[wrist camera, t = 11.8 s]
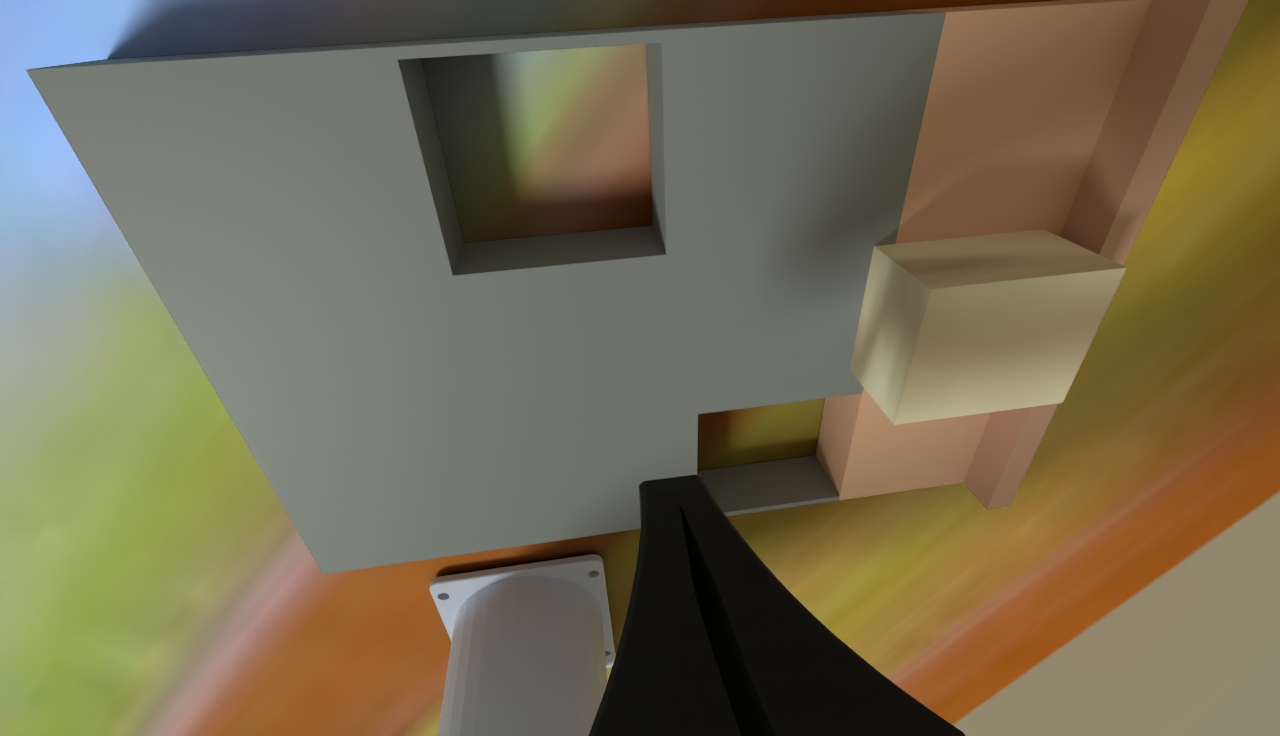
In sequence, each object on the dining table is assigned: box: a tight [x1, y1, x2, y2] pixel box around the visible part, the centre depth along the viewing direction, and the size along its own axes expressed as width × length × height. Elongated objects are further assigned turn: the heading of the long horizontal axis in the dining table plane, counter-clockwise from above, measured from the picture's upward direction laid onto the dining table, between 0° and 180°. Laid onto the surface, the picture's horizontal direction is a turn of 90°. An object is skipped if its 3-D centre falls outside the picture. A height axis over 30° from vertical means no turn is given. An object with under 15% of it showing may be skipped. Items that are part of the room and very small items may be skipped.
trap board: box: [26, 0, 1249, 574], centre depth 18 cm, size 17×27×4 cm, turn 93°
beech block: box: [850, 229, 1127, 425], centre depth 17 cm, size 4×6×3 cm
